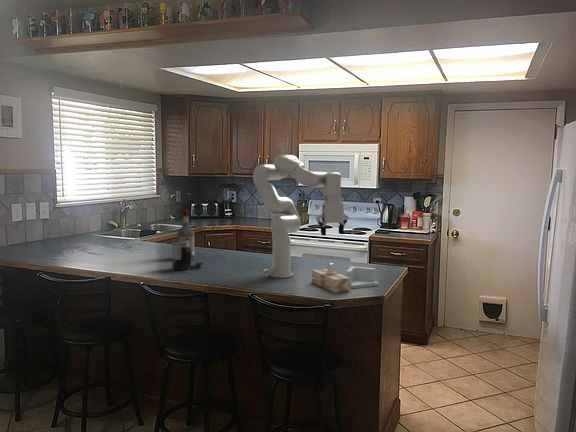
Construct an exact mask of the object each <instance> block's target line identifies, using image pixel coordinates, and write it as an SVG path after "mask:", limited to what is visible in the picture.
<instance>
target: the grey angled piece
mask: <svg viewBox="0 0 576 432" xmlns="http://www.w3.org/2000/svg"><path fill="white" fill-rule="evenodd" d="M345 276H346V277H349V278H350V289H360V288H369V287H378V286H380V282H379V281H376V268H374V267H365V266H364V267H363V266H353V265H352V266H349V267H348V269H347V270H346V271H345Z"/></svg>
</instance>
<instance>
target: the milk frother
mask: <svg viewBox="0 0 576 432" xmlns="http://www.w3.org/2000/svg"><path fill="white" fill-rule="evenodd" d="M171 253H172V257H171V258H172V268H171V270H172V269H174V270H173V271H175V270H183V271H186V270H185V269H188V268H189V269H191V268H194V266H195V267H197V268H200V267H201V266H202V265H204V262H196V263H195V264H193V265H192V260H191V249H190V248H189V247H188V242H178V241H175V242H171ZM199 266H200V267H199ZM189 269H188V270H189Z"/></svg>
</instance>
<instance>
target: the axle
mask: <svg viewBox="0 0 576 432" xmlns="http://www.w3.org/2000/svg"><path fill="white" fill-rule="evenodd" d="M326 265H327V266H326V269H327V275H334V272H335V270H334V269H335V267H334V265H335V264H334V263H333V262H328V263H326Z"/></svg>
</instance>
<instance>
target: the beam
mask: <svg viewBox="0 0 576 432" xmlns="http://www.w3.org/2000/svg"><path fill="white" fill-rule="evenodd" d="M311 270H312V271H311V282H312V283H313V284H316V285H317V286H320V287H322V288H323V289H325V290H326V289H327V290H328V291H330V292H332V293H343V292H349V291H351V290H350V289H351V288H350V278H349V277H346V275H344V274H341V273H338V272H335V271H334V275H327V268H320V269H311Z"/></svg>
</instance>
